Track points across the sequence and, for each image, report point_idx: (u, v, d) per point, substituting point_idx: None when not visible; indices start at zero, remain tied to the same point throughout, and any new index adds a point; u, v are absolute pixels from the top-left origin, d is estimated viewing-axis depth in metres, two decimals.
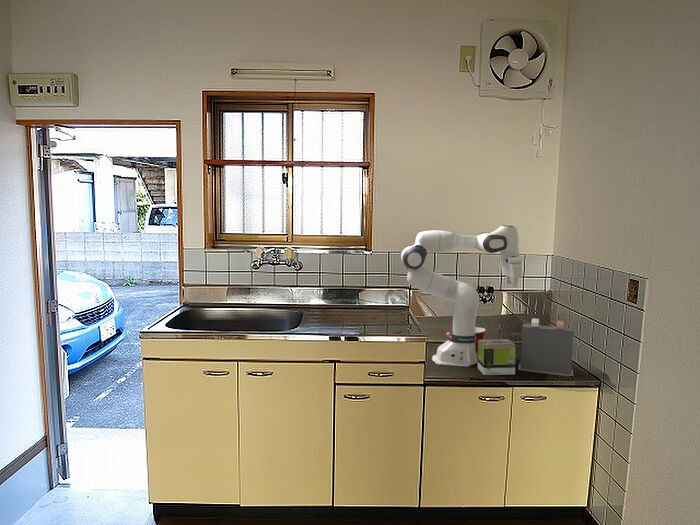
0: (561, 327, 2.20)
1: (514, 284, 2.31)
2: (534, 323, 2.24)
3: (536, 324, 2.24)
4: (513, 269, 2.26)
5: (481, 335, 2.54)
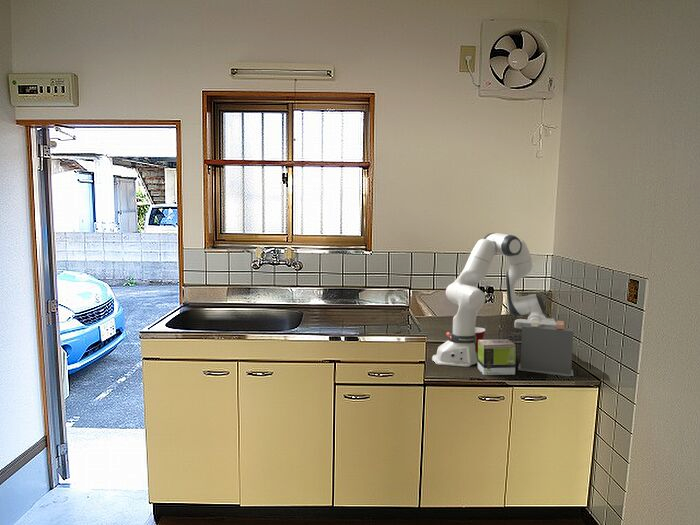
0: (561, 327, 2.20)
1: None
2: (534, 323, 2.24)
3: (536, 324, 2.24)
4: (556, 323, 2.39)
5: (481, 335, 2.54)
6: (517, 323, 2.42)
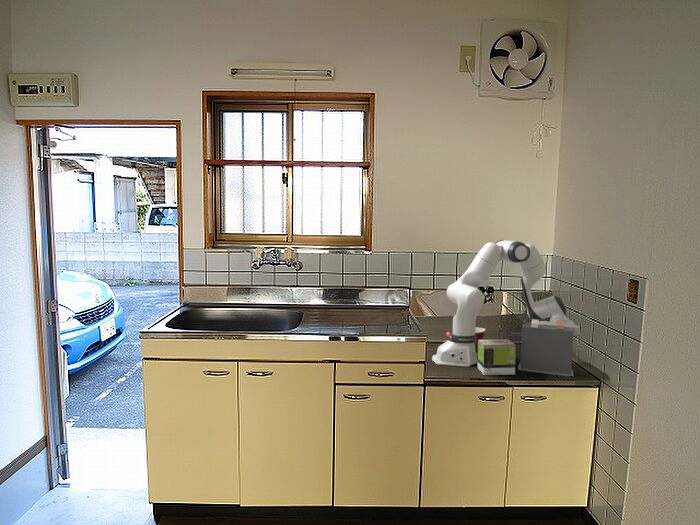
0: (561, 327, 2.19)
1: None
2: (534, 324, 2.23)
3: (536, 325, 2.22)
4: None
5: (481, 335, 2.54)
6: (540, 325, 2.37)
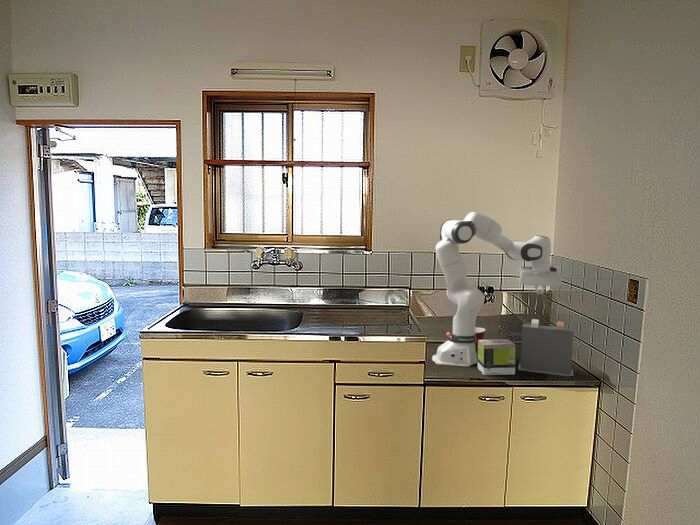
0: (561, 328, 2.18)
1: (542, 291, 2.43)
2: (534, 324, 2.23)
3: (536, 325, 2.22)
4: None
5: (481, 335, 2.54)
6: None
